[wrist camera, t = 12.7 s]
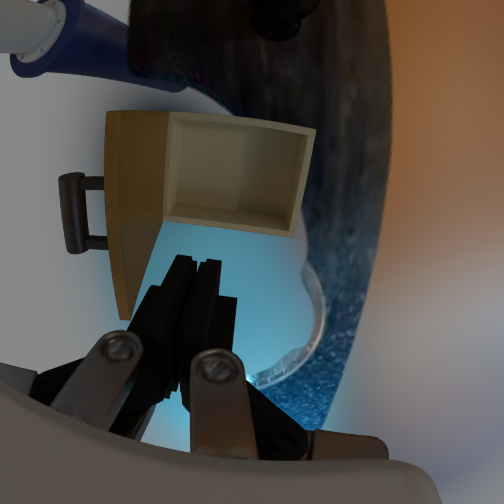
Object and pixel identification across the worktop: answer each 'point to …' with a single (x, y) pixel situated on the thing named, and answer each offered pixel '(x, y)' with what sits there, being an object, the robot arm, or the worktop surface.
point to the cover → (122, 199)
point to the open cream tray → (235, 172)
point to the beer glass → (280, 17)
